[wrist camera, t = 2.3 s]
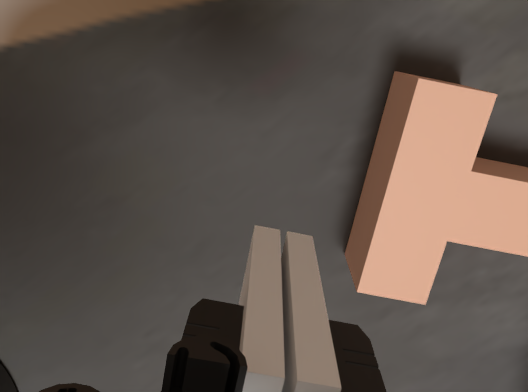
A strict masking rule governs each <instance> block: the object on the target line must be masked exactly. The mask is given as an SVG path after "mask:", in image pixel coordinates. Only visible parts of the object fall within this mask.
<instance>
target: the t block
mask: <svg viewBox="0 0 528 392" xmlns="http://www.w3.org/2000/svg"><path fill="white" fill-rule="evenodd" d="M496 97H497V94H494V93H490V92H487V91H483V90H479V89H475V88H472V87H468V86H464V85H460V84H455V83H451V82H446V81H441V80H436V79H431V78H426V77H421V76H417V75H412V74H407V73H402V72H397V71H395V72H394V75H393V79H392V83H391V86H390V90H389V94H388V97H387V101H386V105H385V108H384V112H383V116H382V119H381V123H380V127H379V130H378V134H377V138H376V141H375V145H374V149H373V152H372V156H371V160H370V163H369V167H368V171H367V174H366V178H365V182H364V185H363V189H362V193H361V196H360V200H359V204H358V207H357V211H356V215H355V218H354V222H353V226H352V229H351V233H350V237H349V240H348V244H347V248H346V251H345V257H346V260H347V263H348V266H349V269H350V272H351V276H352V279H353V282H354V285H355V288H356V291H357V292H359V293H365V294H370V295H375V296H381V297H386V298H392V299H397V300H402V301H408V302H413V303H419V304H424V305H426V302H427V299H428V296H429V293H430V290H431V287H432V284H433V281H434V278H435V275H436V272H437V269H438V267H439V264H440V261H441V258H442V255H443V252H444V249H445V246H446V243H447V241H449V242H454V243H459V244H465V245H470V246H475V247H480V248H485V249H491V250H496V251H501V252H506V253H512V254H517V255H522V256H527V257H528V167H523V166H518V165H513V164H508V163H503V162H498V161H493V160H488V159H483V158H478V157H476V155H477V152H478V149H479V147H480V144H481V141H482V138H483V135H484V132H485V129H486V126H487V123H488V120H489V117H490V114H491V111H492V109H493V106H494V103H495V100H496Z"/></svg>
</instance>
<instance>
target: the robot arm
mask: <svg viewBox="0 0 528 392" xmlns="http://www.w3.org/2000/svg"><path fill="white" fill-rule="evenodd" d="M0 392H17V390H16V388H15V386H14V384H13V382H12V380H11V378H10V376H9V375H8V373H7V372H6V370H5V369H4V367H3V366H2V365H1V364H0ZM39 392H99V391H98V390H96V389H94V388H92V387H91V386H87V385H81V384H76V383H71V384H58V385H55V386H52V387H49V388H46V389H43V390H41V391H39ZM161 392H386V389H385V386H384V383H383V379H382V376H381V373H380V370H379V369H378V364H377V360H376V357H374V351H373V348H372V345H371V341H370V339H369V338H368V337H367V336H366V334H365V333H364V332H363V331H362V330H361V329H360V327H359V326H358V325H354V324H348V323H343V322H338V321H332V320H328V315H327V310H326V305H325V299H324V294H323V289H322V284H321V279H320V273H319V268H318V263H317V258H316V253H315V247H314V242H313V237H312V236H309V235H304V234H299V233H293V232H288V231H287V234H286V239H285V243H284V248H283V252H282V256H281V242H280V230H277V229H272V228H267V227H262V226H256V225H255V227H254V232H253V237H252V241H251V246H250V251H249V256H248V261H247V266H246V271H245V276H244V280H243V285H242V290H241V295H240V300H239V305H236V304H230V303H225V302H219V301H214V300H208V299H202V300H201V301H199V302H198V303H197V304H196V305H194V306H193V307H192V308H191V310H190V313H189V316H188V320H187V323H186V326H185V330H184V333H183V336H182V339H181V341H179V342H177V343H176V344H174V345H173V346H172V348H171V349H170V351H169V352H168V354H167V360H166V366H165V373H164V379H163V385H162V391H161Z"/></svg>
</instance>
